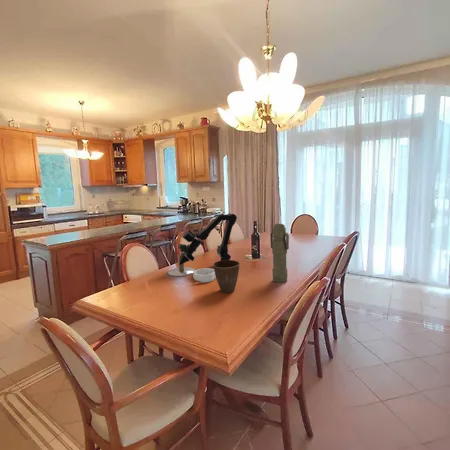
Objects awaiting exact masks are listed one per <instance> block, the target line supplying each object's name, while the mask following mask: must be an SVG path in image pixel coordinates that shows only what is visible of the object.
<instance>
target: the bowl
mask: <svg viewBox="0 0 450 450" xmlns="http://www.w3.org/2000/svg"><path fill="white" fill-rule="evenodd" d="M192 275H193V280H195V281H196V282H197V283H202V284H203V283H204V284H206V283H212V282H214V281H215V280H216V276H215V272H214V268H210V267H209V268H207V267H203V268H198V269H195V271H194V272H193V274H192Z"/></svg>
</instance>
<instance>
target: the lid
mask: <svg viewBox="0 0 450 450" xmlns="http://www.w3.org/2000/svg"><path fill="white" fill-rule="evenodd" d="M182 258H183V255H182V254H181V253H180V254H177V265H178V267H174V268H171V269H169V270H168V271H167V272H168V274H169V275H171V276H170V277H172V276H184V277H187V276H186V275H189V276H191V275H190V274H192V273H193V272H194V269H195V268H193V267H191V266H184V264H185V263H183V264H182V265H179V263H180V261H181V260H182ZM192 275H193V274H192Z"/></svg>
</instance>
